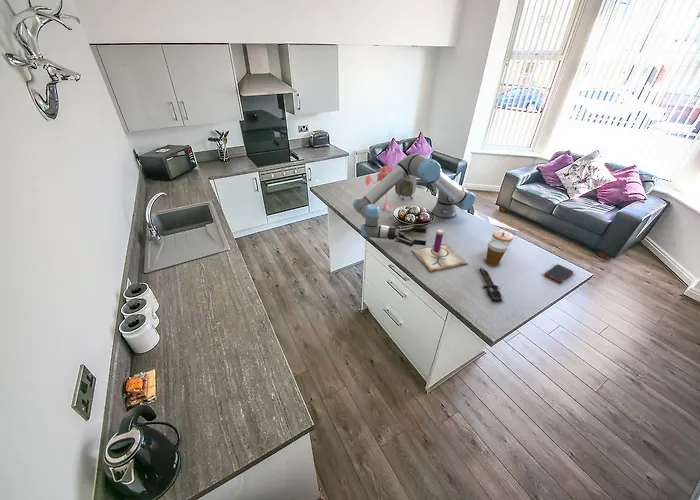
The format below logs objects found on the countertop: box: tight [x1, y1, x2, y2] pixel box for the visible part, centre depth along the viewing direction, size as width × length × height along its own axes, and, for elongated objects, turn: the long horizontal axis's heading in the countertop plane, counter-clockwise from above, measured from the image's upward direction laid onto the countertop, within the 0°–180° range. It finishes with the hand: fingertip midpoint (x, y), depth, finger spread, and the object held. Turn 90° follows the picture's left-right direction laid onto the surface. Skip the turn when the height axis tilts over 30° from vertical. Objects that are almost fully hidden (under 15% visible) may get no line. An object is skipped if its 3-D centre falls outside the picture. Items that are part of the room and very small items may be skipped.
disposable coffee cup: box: [485, 239, 509, 267], centre depth 153 cm, size 10×10×12 cm
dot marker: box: [433, 229, 445, 252], centre depth 161 cm, size 4×4×13 cm
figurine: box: [364, 164, 393, 220], centre depth 194 cm, size 15×26×35 cm, turn 118°
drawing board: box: [412, 243, 468, 273], centre depth 160 cm, size 22×20×1 cm
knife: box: [478, 267, 503, 303], centre depth 141 cm, size 25×6×1 cm, turn 171°
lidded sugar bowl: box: [491, 230, 514, 248], centre depth 167 cm, size 11×11×9 cm
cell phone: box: [543, 264, 574, 283], centre depth 147 cm, size 8×15×1 cm, turn 124°
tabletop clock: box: [394, 174, 418, 201], centre depth 219 cm, size 14×9×25 cm, turn 58°
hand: (425, 236), depth 162 cm, fingers open, 13 cm apart
